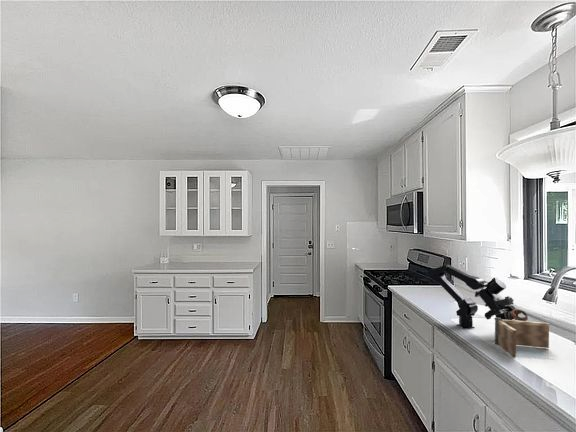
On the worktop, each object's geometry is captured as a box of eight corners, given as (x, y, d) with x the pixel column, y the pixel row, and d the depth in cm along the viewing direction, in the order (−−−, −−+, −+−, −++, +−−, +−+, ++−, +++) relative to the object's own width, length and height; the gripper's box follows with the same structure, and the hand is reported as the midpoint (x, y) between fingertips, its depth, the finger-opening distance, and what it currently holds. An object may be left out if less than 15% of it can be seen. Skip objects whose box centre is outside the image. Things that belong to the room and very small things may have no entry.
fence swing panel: (502, 343, 160) (502, 320, 160) (500, 342, 161) (501, 319, 161) (549, 348, 156) (549, 323, 156) (547, 347, 157) (547, 322, 157)
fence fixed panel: (493, 342, 162) (494, 317, 162) (499, 343, 162) (499, 317, 162) (511, 356, 146) (511, 328, 146) (517, 357, 145) (517, 328, 146)
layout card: (491, 342, 163) (491, 342, 163) (530, 345, 161) (530, 344, 161) (508, 356, 146) (508, 356, 146) (552, 360, 144) (552, 359, 144)
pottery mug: (526, 322, 200) (530, 311, 196) (523, 332, 194) (527, 322, 190) (502, 313, 207) (506, 303, 203) (499, 323, 201) (502, 312, 197)
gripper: (491, 292, 166) (515, 321, 157) (511, 289, 176) (535, 316, 167) (475, 305, 173) (497, 333, 164) (495, 301, 183) (517, 328, 173)
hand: (512, 327), depth 167 cm, fingers closed
